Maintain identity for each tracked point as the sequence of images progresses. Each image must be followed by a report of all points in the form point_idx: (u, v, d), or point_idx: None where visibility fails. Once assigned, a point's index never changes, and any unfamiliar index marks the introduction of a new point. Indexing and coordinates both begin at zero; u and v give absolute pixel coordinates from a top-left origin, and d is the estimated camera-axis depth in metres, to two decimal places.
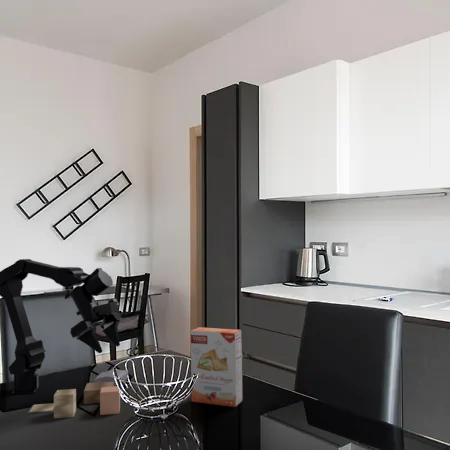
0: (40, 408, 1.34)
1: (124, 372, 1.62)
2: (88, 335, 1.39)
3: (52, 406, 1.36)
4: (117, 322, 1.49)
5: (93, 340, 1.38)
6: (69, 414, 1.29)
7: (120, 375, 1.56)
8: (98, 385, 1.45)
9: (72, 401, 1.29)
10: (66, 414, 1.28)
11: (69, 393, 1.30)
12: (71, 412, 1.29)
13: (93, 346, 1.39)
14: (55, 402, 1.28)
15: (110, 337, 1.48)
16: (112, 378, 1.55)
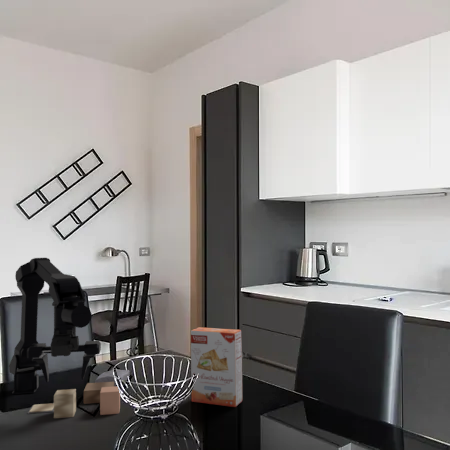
0: (40, 408, 1.34)
1: (125, 372, 1.62)
2: None
3: (52, 406, 1.36)
4: (86, 358, 1.30)
5: None
6: (69, 414, 1.29)
7: (121, 375, 1.56)
8: (98, 385, 1.45)
9: (72, 401, 1.29)
10: (66, 414, 1.28)
11: (69, 393, 1.30)
12: (71, 412, 1.29)
13: None
14: (55, 402, 1.28)
15: None
16: (113, 378, 1.55)
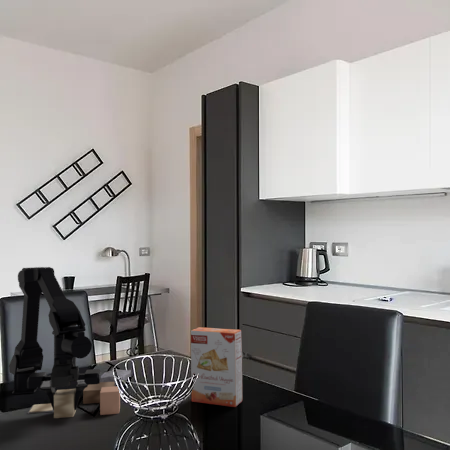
0: (40, 408, 1.34)
1: (127, 372, 1.62)
2: None
3: None
4: (79, 388, 1.29)
5: None
6: (69, 414, 1.29)
7: (123, 375, 1.56)
8: (98, 385, 1.45)
9: (72, 401, 1.29)
10: (66, 414, 1.28)
11: (69, 393, 1.30)
12: (71, 412, 1.29)
13: None
14: (55, 402, 1.28)
15: None
16: None
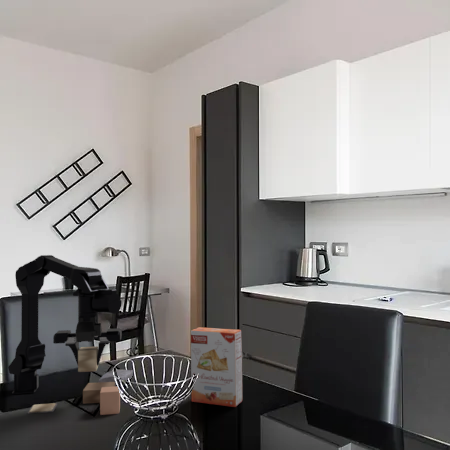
0: (40, 408, 1.34)
1: (129, 372, 1.62)
2: None
3: (52, 406, 1.36)
4: (101, 344, 1.38)
5: None
6: (92, 368, 1.38)
7: (125, 375, 1.56)
8: (98, 385, 1.45)
9: (95, 356, 1.38)
10: (89, 368, 1.38)
11: (92, 349, 1.39)
12: (94, 366, 1.38)
13: None
14: (79, 357, 1.37)
15: None
16: None
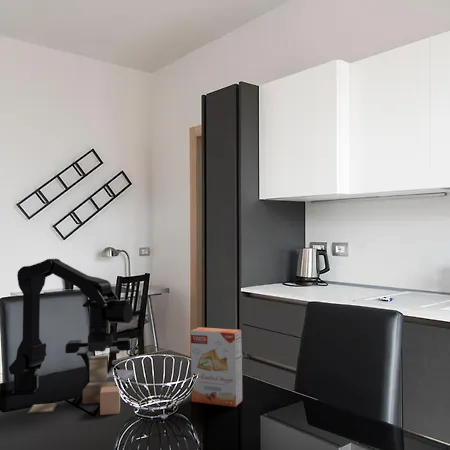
0: (40, 408, 1.34)
1: (130, 372, 1.62)
2: None
3: (52, 406, 1.36)
4: (112, 353, 1.43)
5: None
6: (103, 377, 1.42)
7: (126, 375, 1.56)
8: (98, 385, 1.45)
9: (106, 365, 1.42)
10: (100, 377, 1.42)
11: (103, 358, 1.43)
12: (105, 375, 1.42)
13: None
14: (90, 366, 1.42)
15: None
16: None
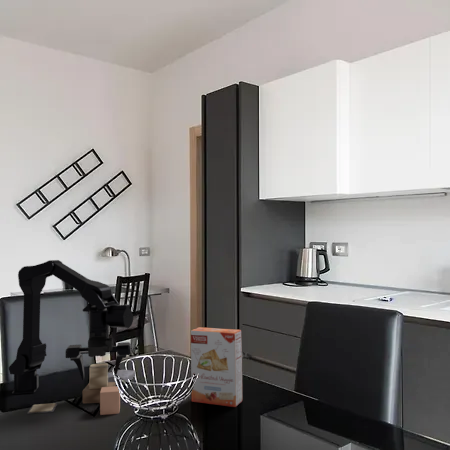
0: (40, 408, 1.34)
1: (131, 372, 1.62)
2: None
3: (52, 406, 1.36)
4: (119, 358, 1.43)
5: None
6: (103, 385, 1.42)
7: (127, 375, 1.56)
8: None
9: (106, 373, 1.42)
10: (100, 385, 1.42)
11: (103, 366, 1.43)
12: (105, 383, 1.42)
13: None
14: (90, 374, 1.42)
15: None
16: None
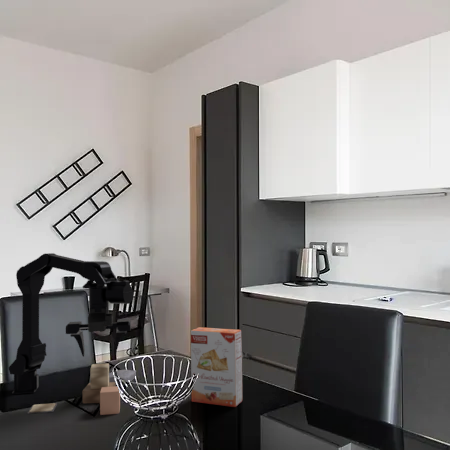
0: (40, 408, 1.34)
1: (132, 372, 1.62)
2: None
3: (52, 406, 1.36)
4: (119, 334, 1.43)
5: None
6: (104, 385, 1.42)
7: (128, 375, 1.56)
8: None
9: (107, 373, 1.42)
10: (101, 385, 1.42)
11: (104, 366, 1.43)
12: (106, 383, 1.42)
13: None
14: (91, 374, 1.42)
15: None
16: None
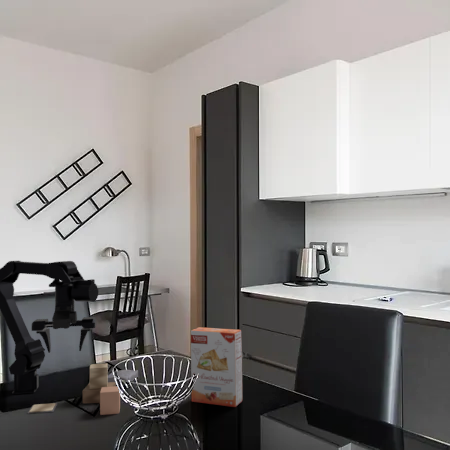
0: (40, 408, 1.34)
1: (134, 372, 1.62)
2: None
3: (52, 406, 1.36)
4: (83, 331, 1.48)
5: None
6: (104, 385, 1.42)
7: (129, 375, 1.56)
8: None
9: (106, 373, 1.42)
10: (100, 385, 1.42)
11: (103, 366, 1.43)
12: (105, 383, 1.42)
13: None
14: (91, 374, 1.41)
15: None
16: (121, 378, 1.54)
